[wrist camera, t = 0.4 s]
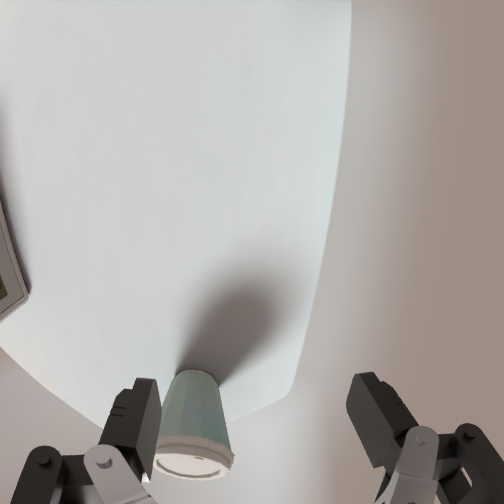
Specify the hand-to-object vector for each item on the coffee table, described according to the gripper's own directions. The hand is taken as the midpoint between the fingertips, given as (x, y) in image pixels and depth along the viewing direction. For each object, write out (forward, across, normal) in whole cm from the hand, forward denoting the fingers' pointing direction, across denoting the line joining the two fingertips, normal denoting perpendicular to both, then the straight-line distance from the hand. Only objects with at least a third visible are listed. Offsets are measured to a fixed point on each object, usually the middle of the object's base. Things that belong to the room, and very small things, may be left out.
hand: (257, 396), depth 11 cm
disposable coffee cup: (+26, +6, +21) cm, 33 cm away
